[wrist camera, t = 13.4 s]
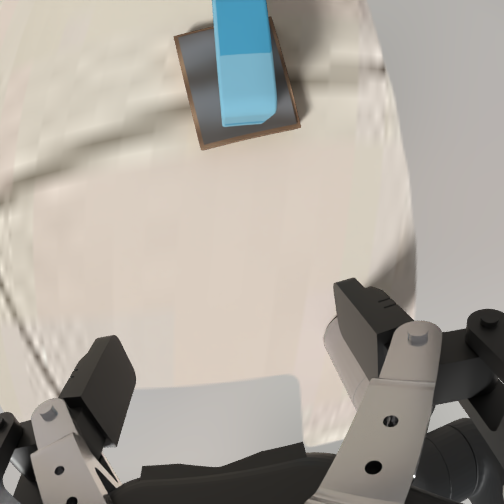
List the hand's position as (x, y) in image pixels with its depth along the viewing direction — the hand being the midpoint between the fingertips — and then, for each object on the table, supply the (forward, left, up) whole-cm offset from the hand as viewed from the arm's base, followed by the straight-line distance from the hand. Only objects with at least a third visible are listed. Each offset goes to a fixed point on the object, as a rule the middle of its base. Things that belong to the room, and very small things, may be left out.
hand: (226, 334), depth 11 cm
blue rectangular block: (+14, -5, -28) cm, 32 cm away
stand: (+15, -5, -32) cm, 36 cm away
